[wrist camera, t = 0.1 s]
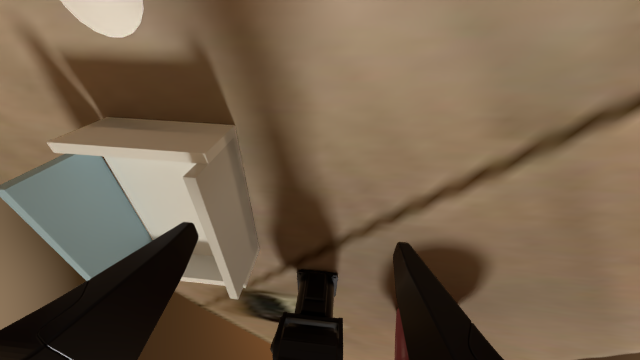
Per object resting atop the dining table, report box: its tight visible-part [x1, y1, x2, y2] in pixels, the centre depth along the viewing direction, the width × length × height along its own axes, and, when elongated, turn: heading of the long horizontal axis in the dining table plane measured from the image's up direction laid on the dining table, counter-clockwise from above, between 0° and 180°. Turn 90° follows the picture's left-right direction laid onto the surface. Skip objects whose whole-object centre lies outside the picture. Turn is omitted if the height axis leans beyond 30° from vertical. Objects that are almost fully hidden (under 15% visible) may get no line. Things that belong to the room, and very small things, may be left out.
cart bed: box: [47, 117, 260, 299], centre depth 26 cm, size 20×14×8 cm
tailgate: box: [0, 154, 153, 281], centre depth 25 cm, size 16×2×8 cm, turn 178°
